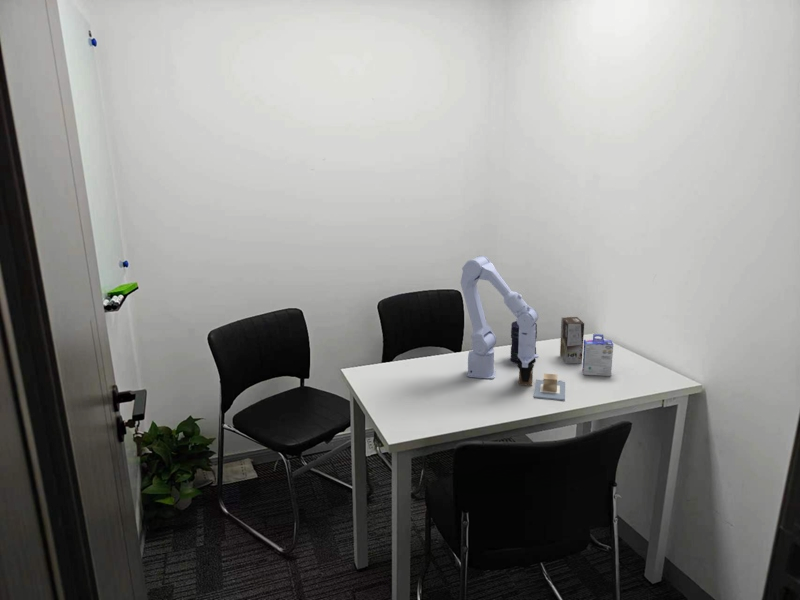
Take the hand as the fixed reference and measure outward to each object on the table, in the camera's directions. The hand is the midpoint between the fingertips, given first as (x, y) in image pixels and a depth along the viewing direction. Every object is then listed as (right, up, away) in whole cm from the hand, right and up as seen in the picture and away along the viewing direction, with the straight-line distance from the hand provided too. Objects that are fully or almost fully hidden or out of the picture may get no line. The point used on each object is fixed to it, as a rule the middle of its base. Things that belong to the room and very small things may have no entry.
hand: (525, 378), depth 191 cm
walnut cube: (0, -1, 0) cm, 1 cm away
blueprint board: (+7, -3, -7) cm, 10 cm away
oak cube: (+7, -2, -7) cm, 10 cm away
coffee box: (+22, +5, +20) cm, 30 cm away
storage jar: (+4, +4, +20) cm, 21 cm away
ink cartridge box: (+28, +1, +6) cm, 28 cm away
